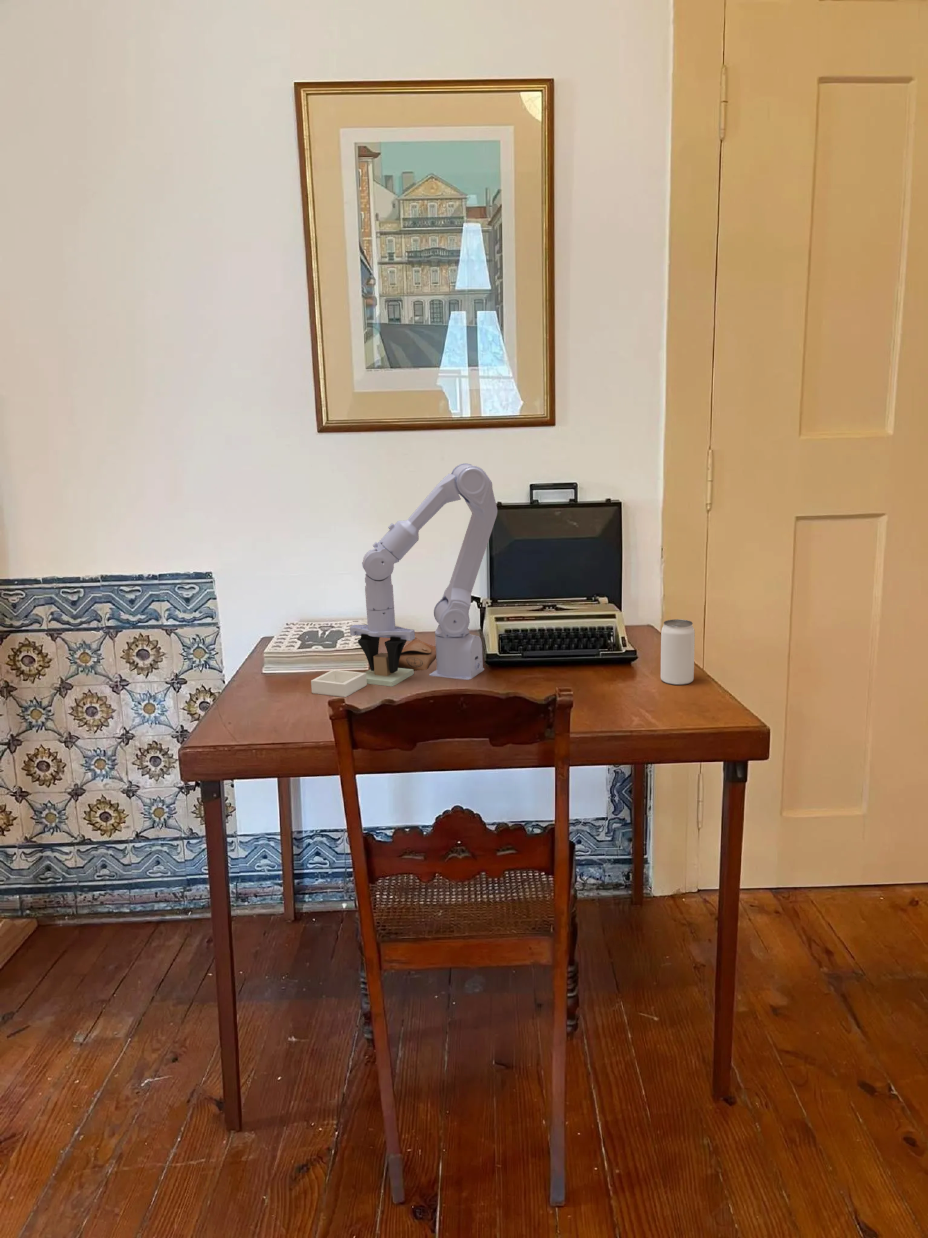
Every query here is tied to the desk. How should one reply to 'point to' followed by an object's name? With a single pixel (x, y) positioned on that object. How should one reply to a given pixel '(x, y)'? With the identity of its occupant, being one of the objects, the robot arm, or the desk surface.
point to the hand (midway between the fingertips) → (384, 670)
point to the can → (677, 652)
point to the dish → (338, 683)
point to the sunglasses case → (417, 655)
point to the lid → (386, 672)
